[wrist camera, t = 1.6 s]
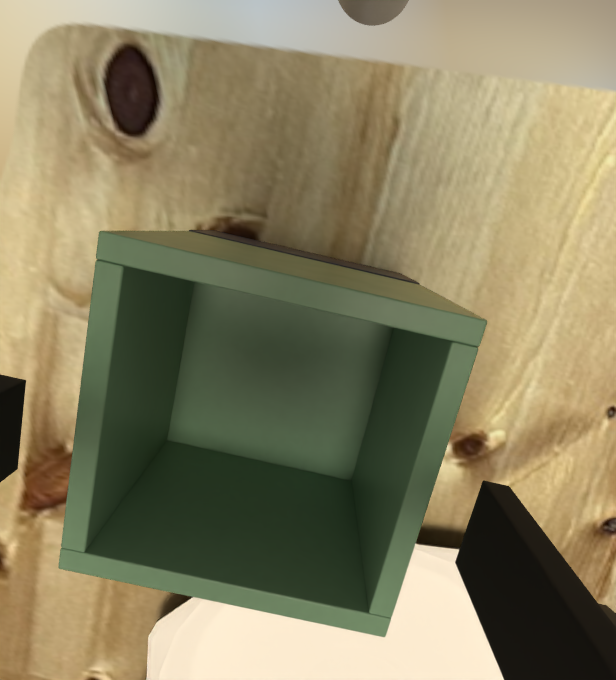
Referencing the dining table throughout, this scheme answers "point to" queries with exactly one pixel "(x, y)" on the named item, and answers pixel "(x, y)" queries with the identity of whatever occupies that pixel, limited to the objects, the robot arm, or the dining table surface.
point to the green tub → (260, 426)
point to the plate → (332, 637)
